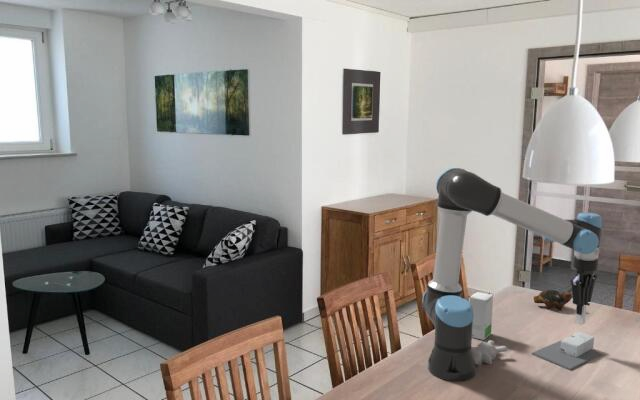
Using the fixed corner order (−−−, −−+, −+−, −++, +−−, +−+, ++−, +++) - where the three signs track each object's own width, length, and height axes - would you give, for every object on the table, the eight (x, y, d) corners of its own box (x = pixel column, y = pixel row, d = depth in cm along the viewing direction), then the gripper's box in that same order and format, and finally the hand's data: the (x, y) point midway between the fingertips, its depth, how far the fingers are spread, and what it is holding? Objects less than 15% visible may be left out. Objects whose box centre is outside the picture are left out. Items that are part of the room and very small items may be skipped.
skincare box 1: (483, 340, 197) (486, 300, 194) (466, 336, 201) (468, 296, 198) (491, 333, 203) (494, 294, 201) (475, 329, 207) (477, 290, 205)
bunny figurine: (459, 348, 181) (487, 333, 190) (459, 362, 183) (487, 346, 191) (482, 359, 174) (510, 343, 182) (482, 373, 175) (510, 356, 183)
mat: (569, 370, 175) (570, 368, 175) (531, 354, 186) (531, 352, 186) (601, 354, 186) (602, 353, 186) (564, 340, 197) (564, 339, 197)
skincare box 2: (594, 336, 189) (578, 345, 182) (593, 348, 190) (577, 357, 182) (577, 331, 194) (560, 339, 186) (576, 343, 194) (559, 351, 187)
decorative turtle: (573, 313, 224) (574, 295, 222) (535, 312, 228) (535, 294, 226) (568, 304, 233) (569, 286, 232) (532, 303, 237) (532, 286, 235)
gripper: (586, 263, 178) (580, 330, 182) (606, 257, 185) (600, 321, 189) (565, 258, 184) (559, 322, 188) (585, 252, 191) (579, 315, 195)
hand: (579, 322), depth 188 cm, fingers closed
